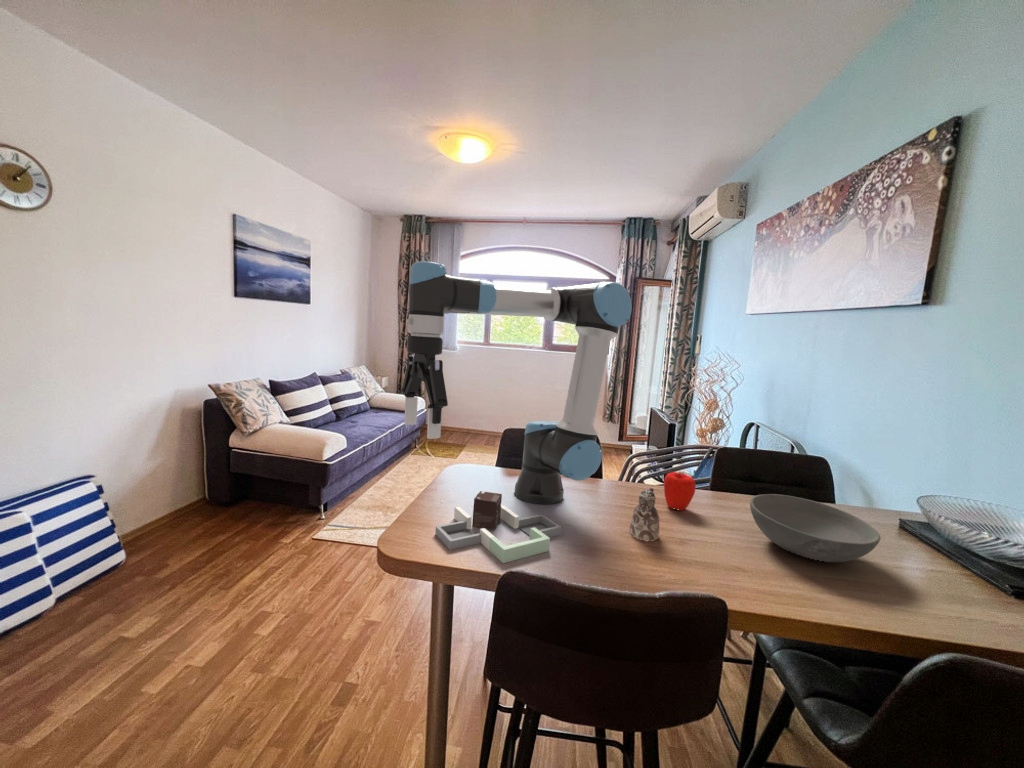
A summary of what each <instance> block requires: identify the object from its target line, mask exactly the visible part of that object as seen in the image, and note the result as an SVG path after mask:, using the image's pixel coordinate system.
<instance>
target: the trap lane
mask: <svg viewBox="0 0 1024 768" xmlns="http://www.w3.org/2000/svg"><path fill="white" fill-rule="evenodd" d="M453 514H454V515H453V519H454V520H455V521H456V522H452V523H451V522H450V523H446V524H440V525H436V526H435V533H434V534H435V535H436V537H437V538H438V539H439V540H440V541H441V542H442V543H443V544H444V545H445V547H446V548H447V549H448V550H449V551H452V550H457V549H462V548H465V547H469V546H473V545H478V544H481V545H482V546H484V547H485V548H486V549H487V550H488V551H489V552H490V553H491V554H492V555H493V556H494V557H496V558H497V559H498V560H499V561H500V562H501V563H502V564H506V563H509V562H513V561H517V560H521V559H524V558H525V559H526V558H528V557H531V556H536V555H538V554H543V553H546V552H549V551H550V544H551V538H552V537H553V538H554V537H556V536H560V535H561V534H562V526H561V525H559V524H558V523H556V522H554V521H553V519H550V517H549V518H548V517H547V516H545V515H544V514H542V513H541V514H535V515H531V516H525V517H521V518H520V516H519V515H518V514H516V513H515V512H513V511H512V510H510V508H508V507H507V506H505V505H503V503H501V515H500V520H502V521H503V522H505V523H506V524H507V525H508V526H510V527H511V528H513V529H515V530H516V529H519V530H520V531H522V532H523V533H525V534H526V535H527V536H528V537H529V540H526V541H521V542H517V543H513V544H509V545H506V544H504V543H503V542H502V541H500V540H499V539H498V538H497V537H496V536H495V535H493V534H492V533H491V532H490V531H489V530H488V529H486V528H479V533H478V532H477V533H474V534H473V533H472V532H471V531H470V530H471V529H472V519H473V516H471V515H470V514H469V513H468V512H466V511H465V510H464V509H463V508H462V507H460V506H454V513H453Z"/></svg>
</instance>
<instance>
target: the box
mask: <svg viewBox="0 0 1024 768" xmlns="http://www.w3.org/2000/svg"><path fill="white" fill-rule="evenodd" d="M502 496H503V494H502V493H498V492H497V493H496V492H490V491H484V490H483V491H479V492H478V493H477V494H476V495H475V497H474V498H473V510H472V521H471V527H474V528H479V529H483V528H485V529H486V530H492V531H493V530H496V528H498V526H499V524H500V522H501V518H500V515H501V504H502Z"/></svg>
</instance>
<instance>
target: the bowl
mask: <svg viewBox="0 0 1024 768" xmlns="http://www.w3.org/2000/svg"><path fill="white" fill-rule="evenodd" d="M749 507H750V513H751V515H752V518H753V520H754V522H755V524H756V525H757V527H758V528H759V530H760V531H761V533H762V534H764V536H765V537H766V538H767V539H769V540H770V541H771V542H773V543H774V544H776V545H777V546H778V547H779V548H781V549H783V550H785V551H787V552H789V551H790V553H791V554H794V553H795V554H794V555H796V554H797V556H799V555H801V556H800V557H802V556H803V557H802V558H805V557H806V559H808V558H810V559H809V560H812V559H814V560H813V561H817V560H819V561H818V562H822V561H824V562H823V563H843V562H845V563H846V562H850V561H854V560H856V559H859V558H862V557H864V556H866V555H868V554H869V553H870V552H872V551H873V550H874V549H875V548H876V547H877V546H878V544H879V543H880V541H881V535H880V533H878V531H877V530H876V529H875V528H874V527H872V525H870V524H869V523H867V522H865V521H864V520H862V519H861V518H859V517H857V516H855V515H853V514H851V513H849V512H847V511H844V510H842V509H839V508H836V507H833V506H831V505H827V504H824V503H822V502H819V501H815V500H812V499H808V498H803V497H797V496H794V495H786V494H777V493H767V494H766V493H765V494H757V495H754V496H753V497H752V498H751V499H750V501H749Z"/></svg>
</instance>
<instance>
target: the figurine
mask: <svg viewBox="0 0 1024 768" xmlns="http://www.w3.org/2000/svg"><path fill="white" fill-rule="evenodd" d="M654 490H655V489H654V488H652V487H650V488H649V489H644V490H643V491H641V493H639V495H638V505H637V506H635V508H634V510H633V513H632V518H631V522H630V525H629V534H630V533H631V534H632V535H633V536H632V535H631V534H630V535H631V536H632V538H634V537H636V538H638V539H640V540H639V541H641V540H649V541H653V540H656V539H657V540H658V539H659V535H660V516H659V511H658V509H657V508H656V507H655V504H656V499H657V498H656V495H655V493H654ZM636 538H635V539H636ZM638 539H637V540H638ZM657 540H656V541H657Z"/></svg>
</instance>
